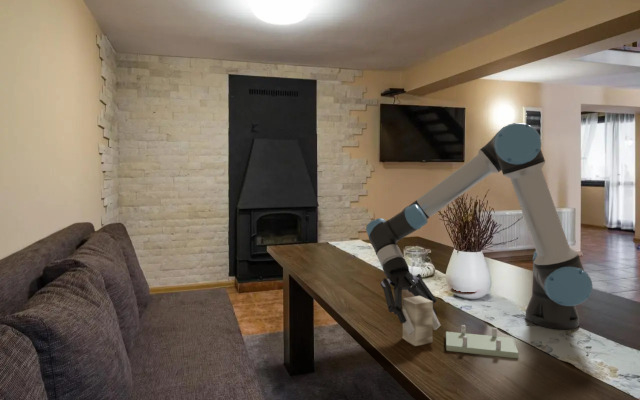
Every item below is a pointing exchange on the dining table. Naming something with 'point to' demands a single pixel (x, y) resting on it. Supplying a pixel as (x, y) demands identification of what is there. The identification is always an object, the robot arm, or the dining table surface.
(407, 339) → the tan block
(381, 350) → the dining table surface
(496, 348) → the peg board
